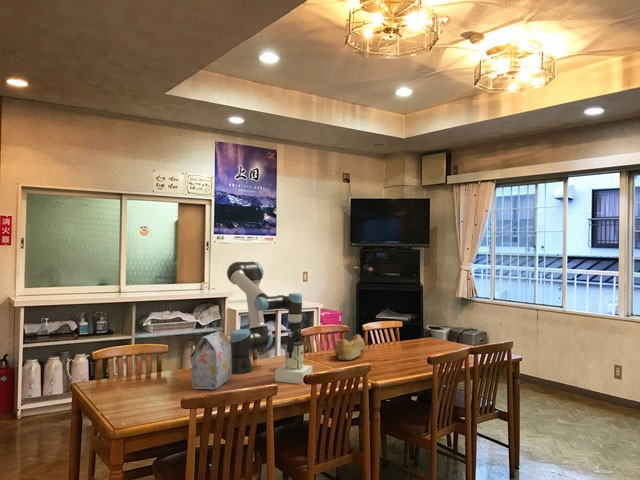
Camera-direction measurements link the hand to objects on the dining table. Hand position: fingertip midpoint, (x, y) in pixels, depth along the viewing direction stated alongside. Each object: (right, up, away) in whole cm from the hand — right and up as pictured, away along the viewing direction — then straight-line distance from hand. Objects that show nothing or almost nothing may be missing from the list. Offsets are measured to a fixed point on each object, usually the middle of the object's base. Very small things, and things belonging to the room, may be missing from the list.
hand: (294, 361), depth 266 cm
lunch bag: (-43, -8, -13) cm, 46 cm away
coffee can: (0, -3, 0) cm, 3 cm away
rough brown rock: (+32, -11, +55) cm, 65 cm away
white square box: (0, -9, 0) cm, 9 cm away
